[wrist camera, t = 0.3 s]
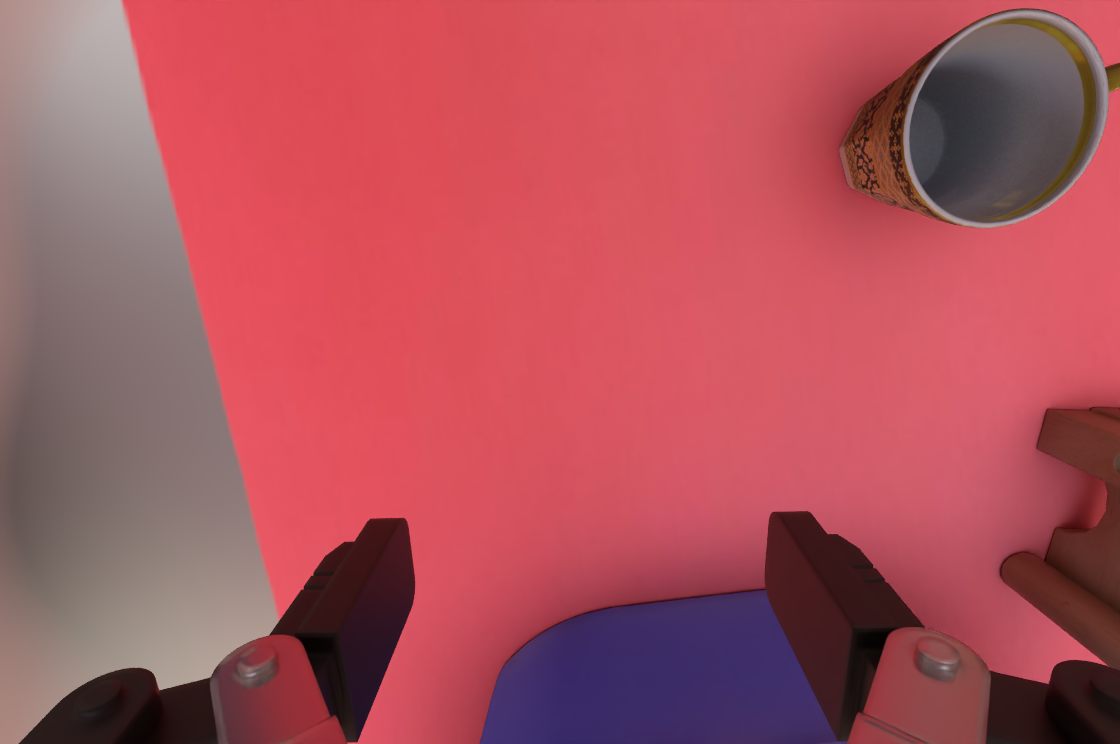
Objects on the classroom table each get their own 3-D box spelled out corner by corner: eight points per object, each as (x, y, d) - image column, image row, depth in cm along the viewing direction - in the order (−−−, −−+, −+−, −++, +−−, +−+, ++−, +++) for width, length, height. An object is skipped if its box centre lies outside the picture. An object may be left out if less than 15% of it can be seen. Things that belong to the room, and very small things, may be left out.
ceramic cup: (834, 248, 39) (926, 257, 29) (796, 102, 36) (882, 59, 27) (1023, 176, 38) (1184, 159, 28) (996, 19, 35) (1162, -57, 26)
